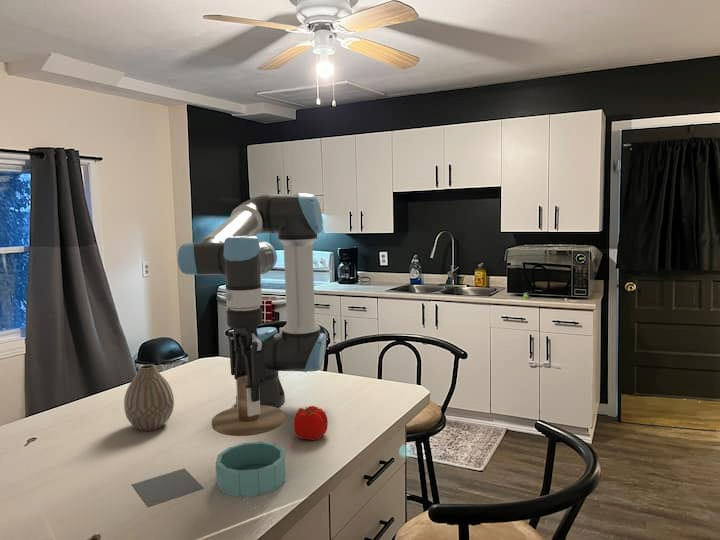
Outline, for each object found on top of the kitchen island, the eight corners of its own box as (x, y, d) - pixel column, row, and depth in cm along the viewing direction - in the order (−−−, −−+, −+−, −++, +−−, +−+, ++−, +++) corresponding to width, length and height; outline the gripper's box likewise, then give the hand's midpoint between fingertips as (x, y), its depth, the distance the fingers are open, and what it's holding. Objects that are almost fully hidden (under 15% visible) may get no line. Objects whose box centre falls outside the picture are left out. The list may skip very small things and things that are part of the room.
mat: (131, 486, 124) (131, 484, 124) (184, 469, 131) (184, 468, 131) (148, 508, 115) (147, 507, 115) (204, 489, 122) (204, 488, 122)
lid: (200, 419, 125) (198, 377, 124) (264, 403, 135) (262, 363, 134) (230, 442, 113) (228, 395, 112) (298, 422, 122) (297, 379, 121)
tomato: (312, 427, 155) (312, 401, 154) (334, 436, 149) (333, 409, 148) (285, 437, 149) (284, 410, 148) (306, 447, 143) (306, 419, 142)
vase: (117, 427, 158) (113, 367, 156) (161, 414, 167) (157, 357, 165) (139, 440, 149) (134, 376, 147) (183, 425, 158) (180, 365, 156)
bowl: (207, 478, 127) (205, 454, 126) (266, 459, 136) (265, 436, 135) (235, 506, 115) (234, 479, 114) (298, 483, 124) (297, 458, 124)
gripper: (211, 304, 126) (216, 404, 128) (246, 315, 112) (251, 427, 114) (242, 300, 130) (246, 397, 133) (279, 310, 116) (283, 418, 119)
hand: (248, 411), depth 124 cm, fingers closed on lid, 4 cm apart
